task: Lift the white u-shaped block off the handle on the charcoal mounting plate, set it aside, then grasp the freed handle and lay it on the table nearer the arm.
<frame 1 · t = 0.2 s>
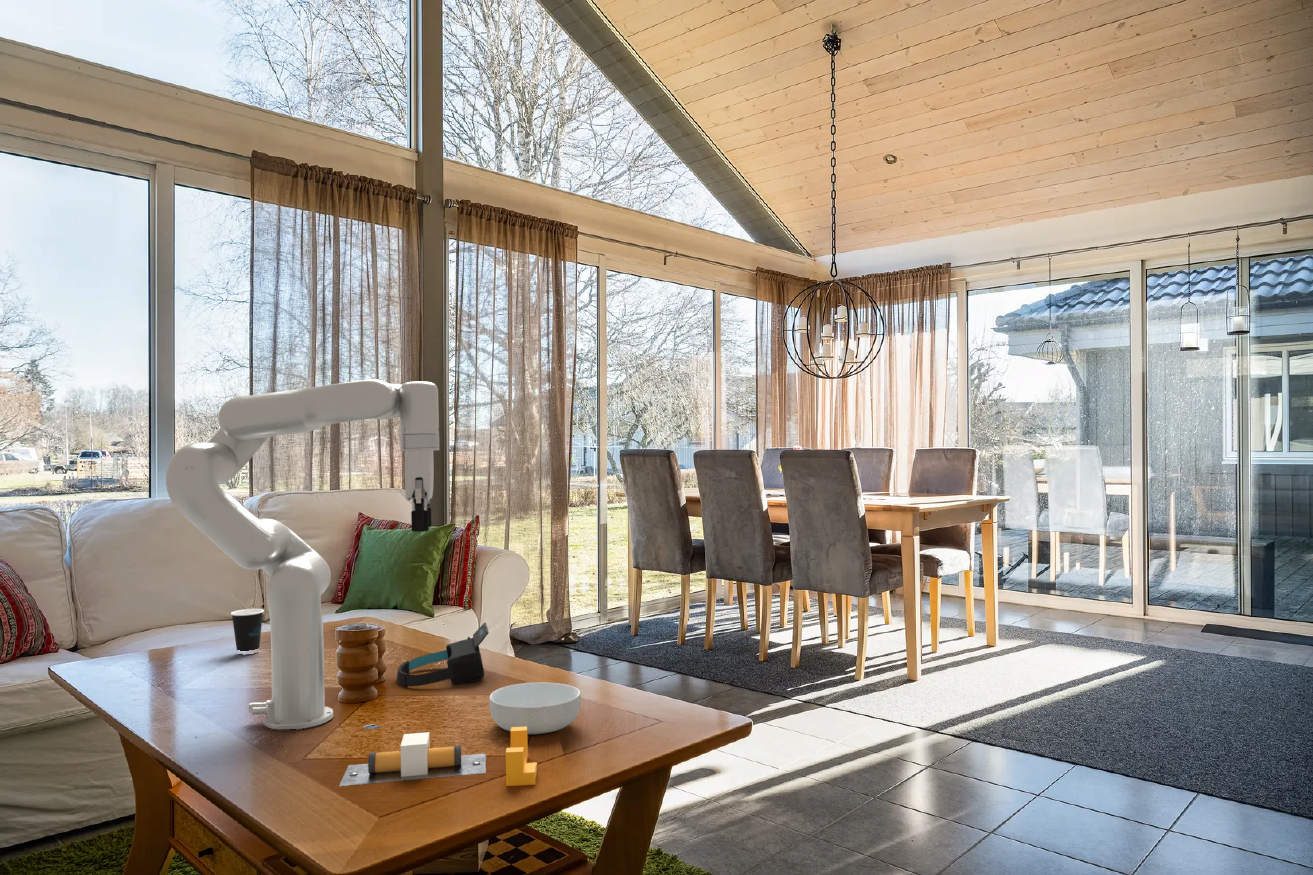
hand: (421, 529, 176), 37 cm above the table, tool pointing down, fingers open, 9 cm apart
mounting plate: (416, 776, 141), on the table
wristwatch: (391, 740, 160), on the table
cereal bowl: (536, 732, 162), on the table
handle: (415, 769, 141), point 1 cm above the table, touching mounting plate
dixie cup: (248, 654, 232), on the table
virtual reality headset: (443, 679, 203), on the table
white u-shaped block: (415, 769, 141), point 1 cm above the table, touching mounting plate
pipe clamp: (523, 780, 139), on the table
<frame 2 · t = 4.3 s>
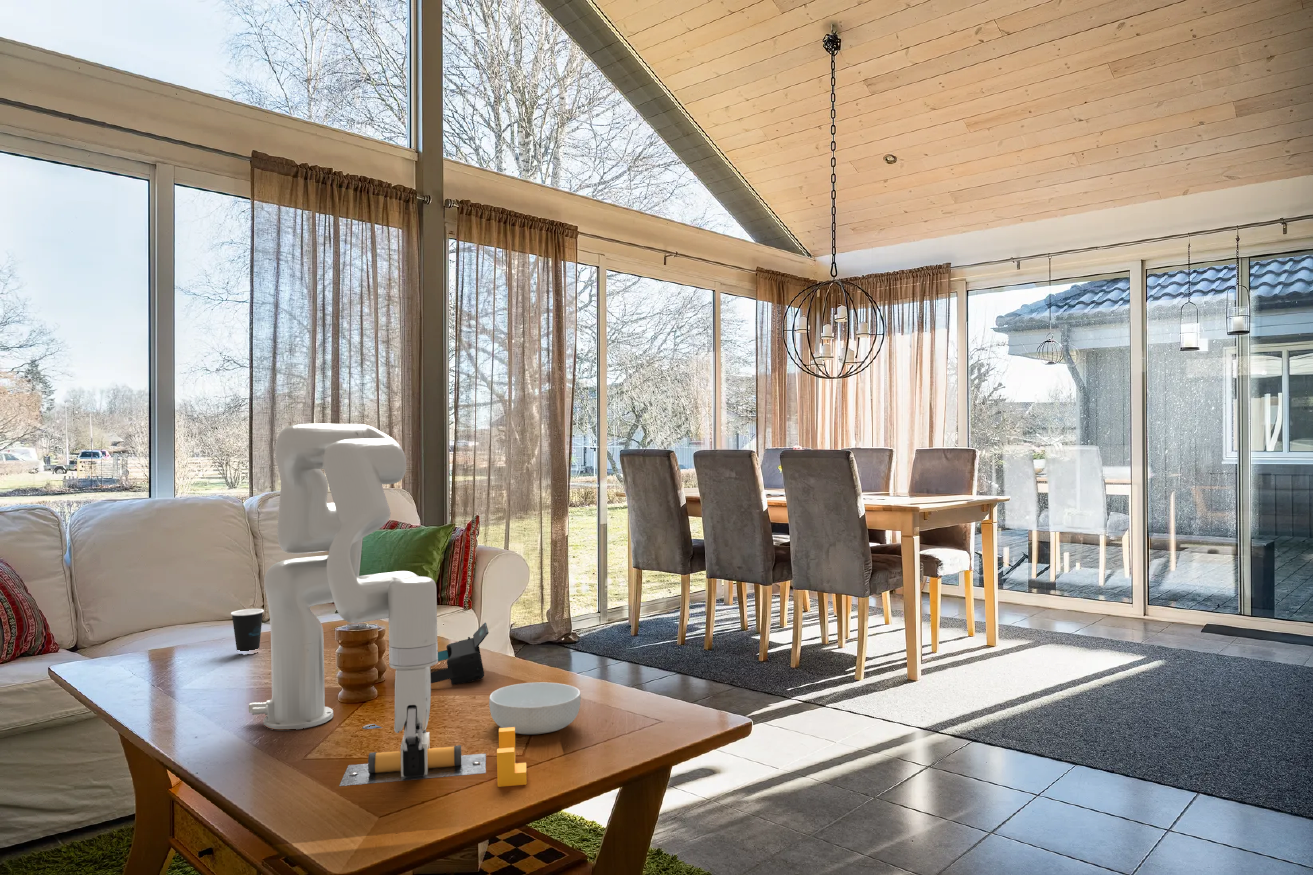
hand: (415, 766, 141), 2 cm above the table, tool pointing down, fingers closed on white u-shaped block, 5 cm apart
white u-shaped block: (415, 769, 141), point 1 cm above the table, touching gripper, mounting plate
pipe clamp: (512, 781, 139), on the table
everything else where it was.
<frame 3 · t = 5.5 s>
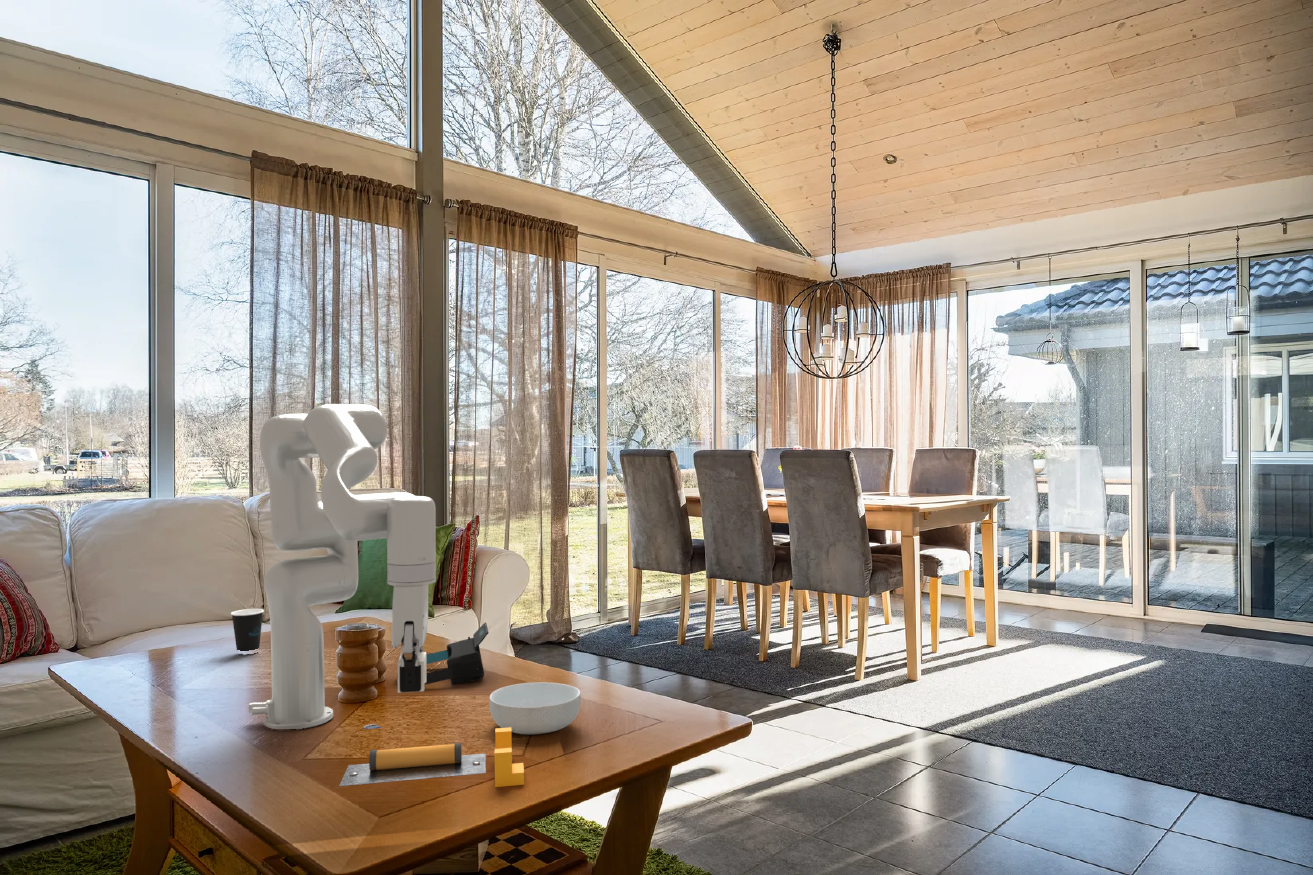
hand: (412, 684, 141), 15 cm above the table, tool pointing down, fingers closed on white u-shaped block, 5 cm apart
handle: (415, 765, 141), point 2 cm above the table, tilted 48°, touching mounting plate
white u-shaped block: (412, 686, 141), point 14 cm above the table, touching gripper
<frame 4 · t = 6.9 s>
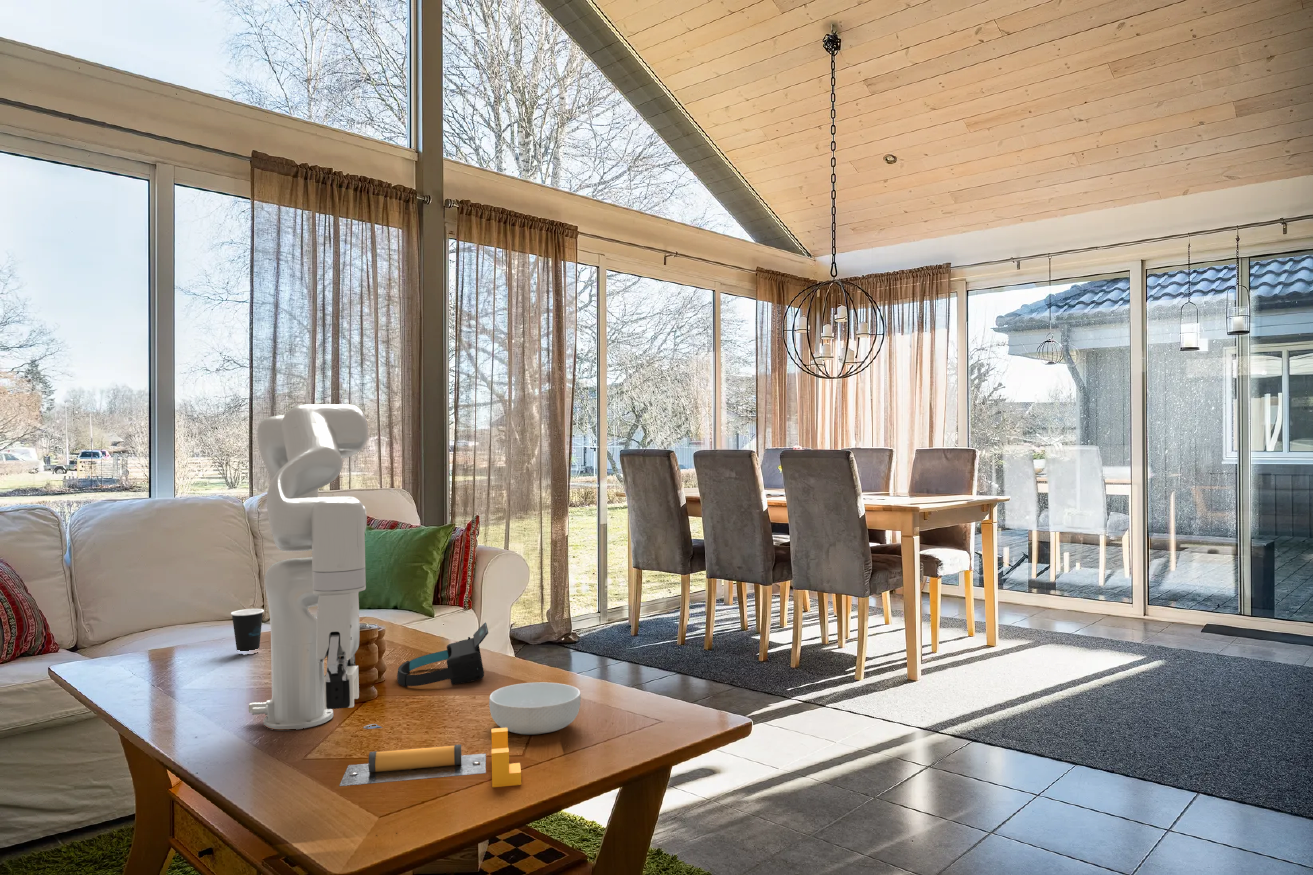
hand: (341, 700, 132), 15 cm above the table, tool pointing down, fingers closed on white u-shaped block, 5 cm apart
handle: (415, 768, 141), point 1 cm above the table, tilted 17°, touching mounting plate
white u-shaped block: (342, 703, 132), point 15 cm above the table, touching gripper
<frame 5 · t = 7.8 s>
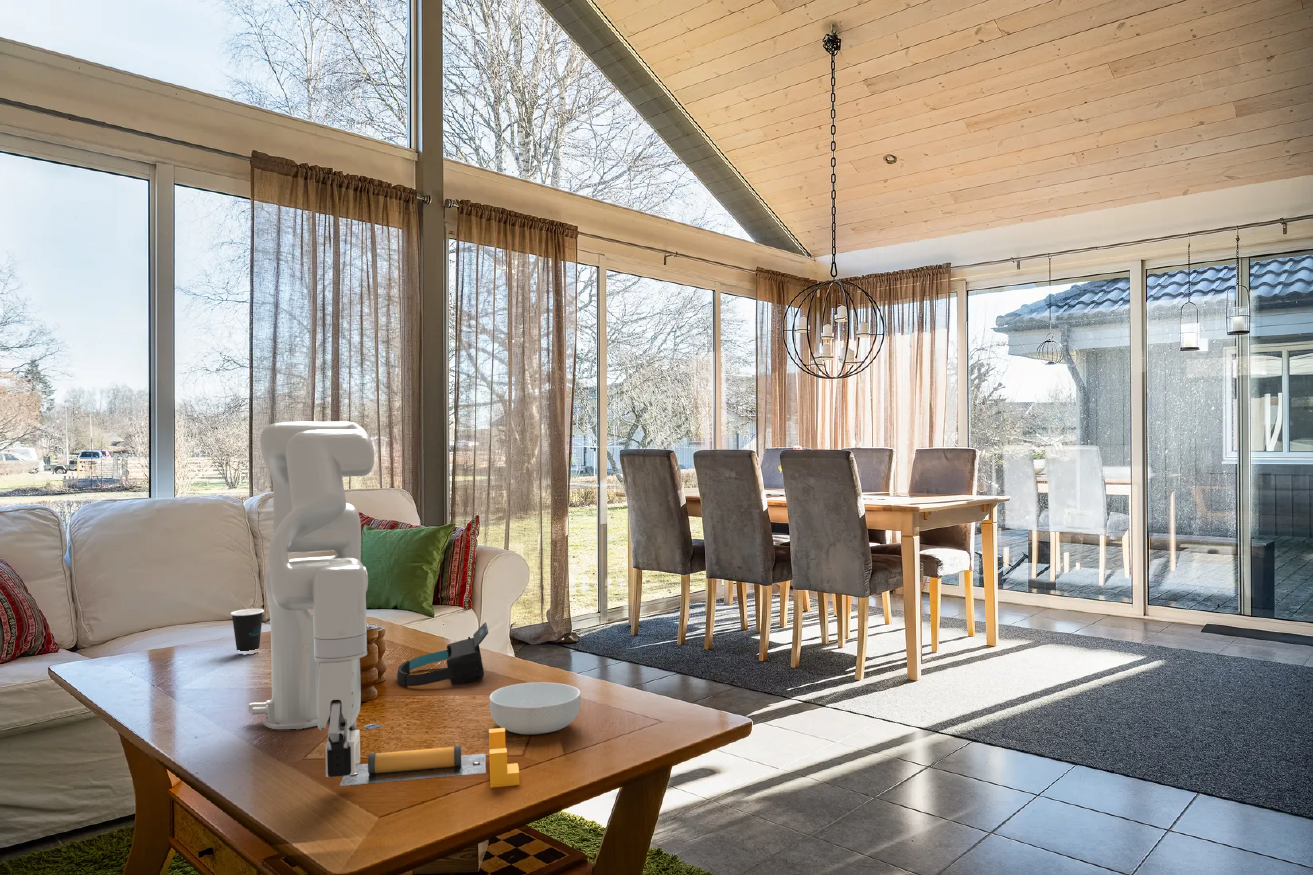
hand: (343, 766, 132), 5 cm above the table, tool pointing down, fingers closed on white u-shaped block, 5 cm apart
handle: (415, 769, 141), point 1 cm above the table, tilted 6°, touching mounting plate
white u-shaped block: (343, 769, 132), point 5 cm above the table, touching gripper
when the fingers open (2 cm above the table, at t = 8.6 s): white u-shaped block stays where it is, resting on mounting plate.
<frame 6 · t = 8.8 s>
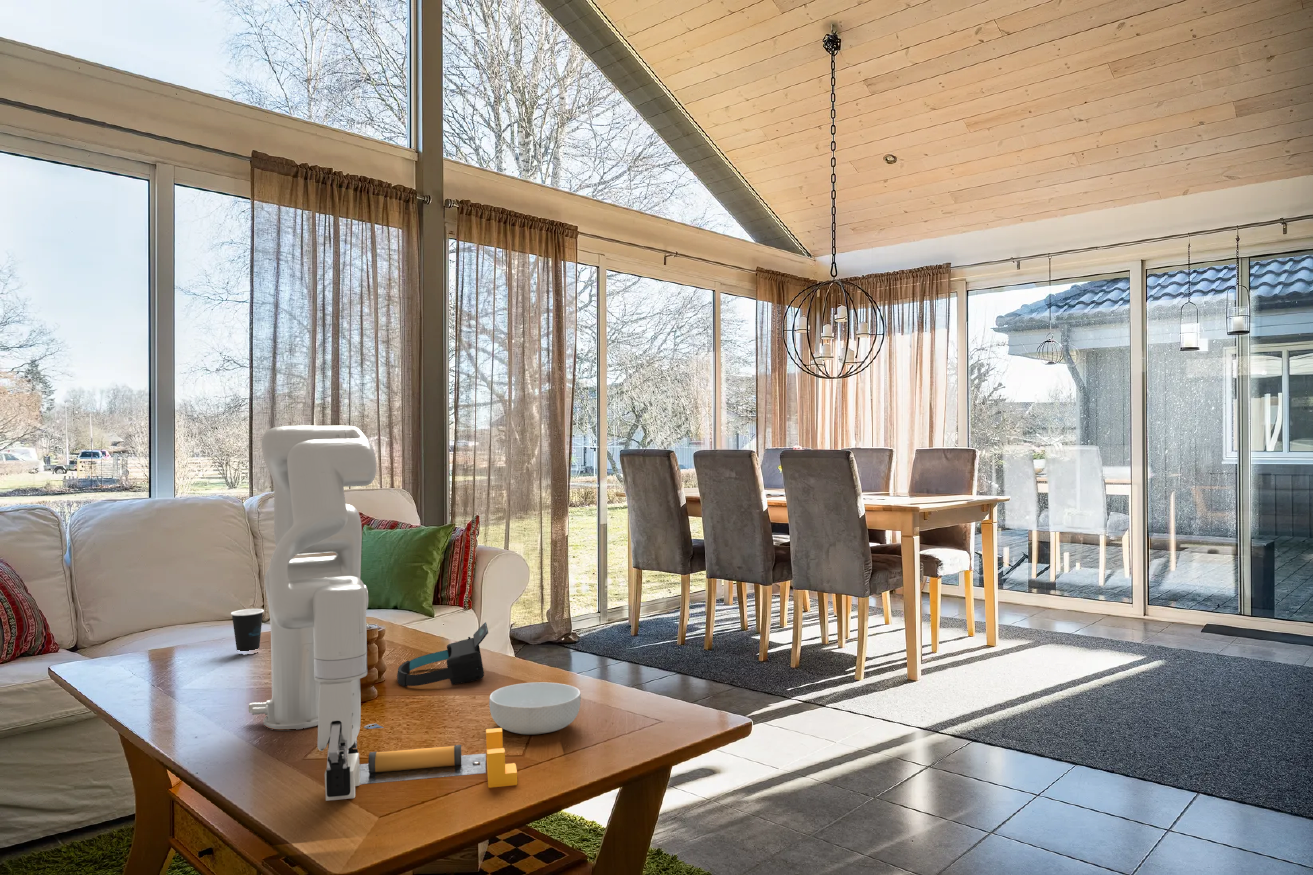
hand: (343, 784, 132), 2 cm above the table, tool pointing down, fingers open, 7 cm apart
handle: (415, 768, 141), point 1 cm above the table, tilted 11°, touching mounting plate
white u-shaped block: (343, 793, 132), point 1 cm above the table, tilted 7°, touching gripper, mounting plate
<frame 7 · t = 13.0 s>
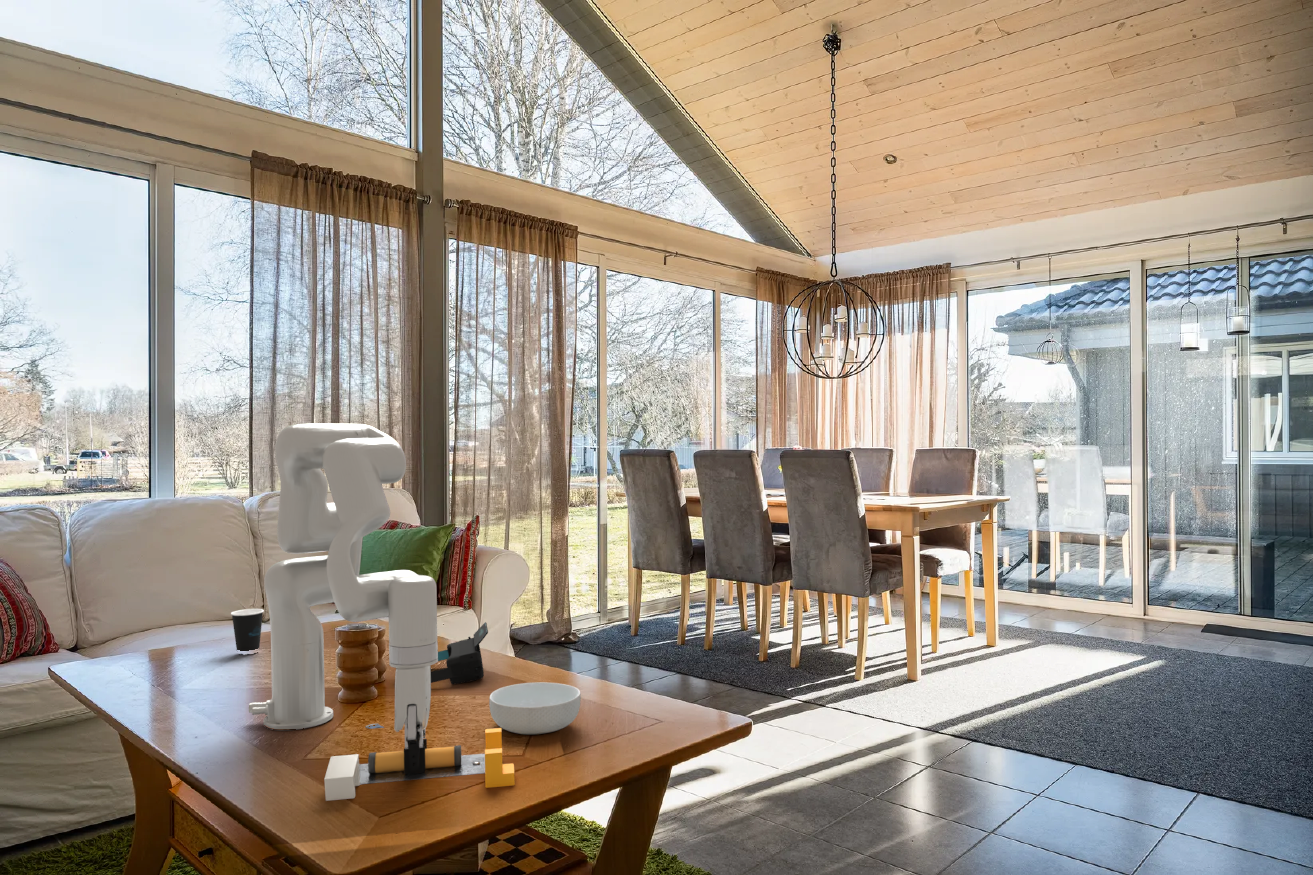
hand: (415, 767, 141), 1 cm above the table, tool pointing down, fingers closed on handle, 3 cm apart
handle: (415, 769, 141), point 1 cm above the table, touching gripper, mounting plate
white u-shaped block: (343, 794, 132), point 1 cm above the table, tilted 13°, touching mounting plate
when the fingers open (2 cm above the table, at t = 16.9 s): handle drops 2 cm, on the table.
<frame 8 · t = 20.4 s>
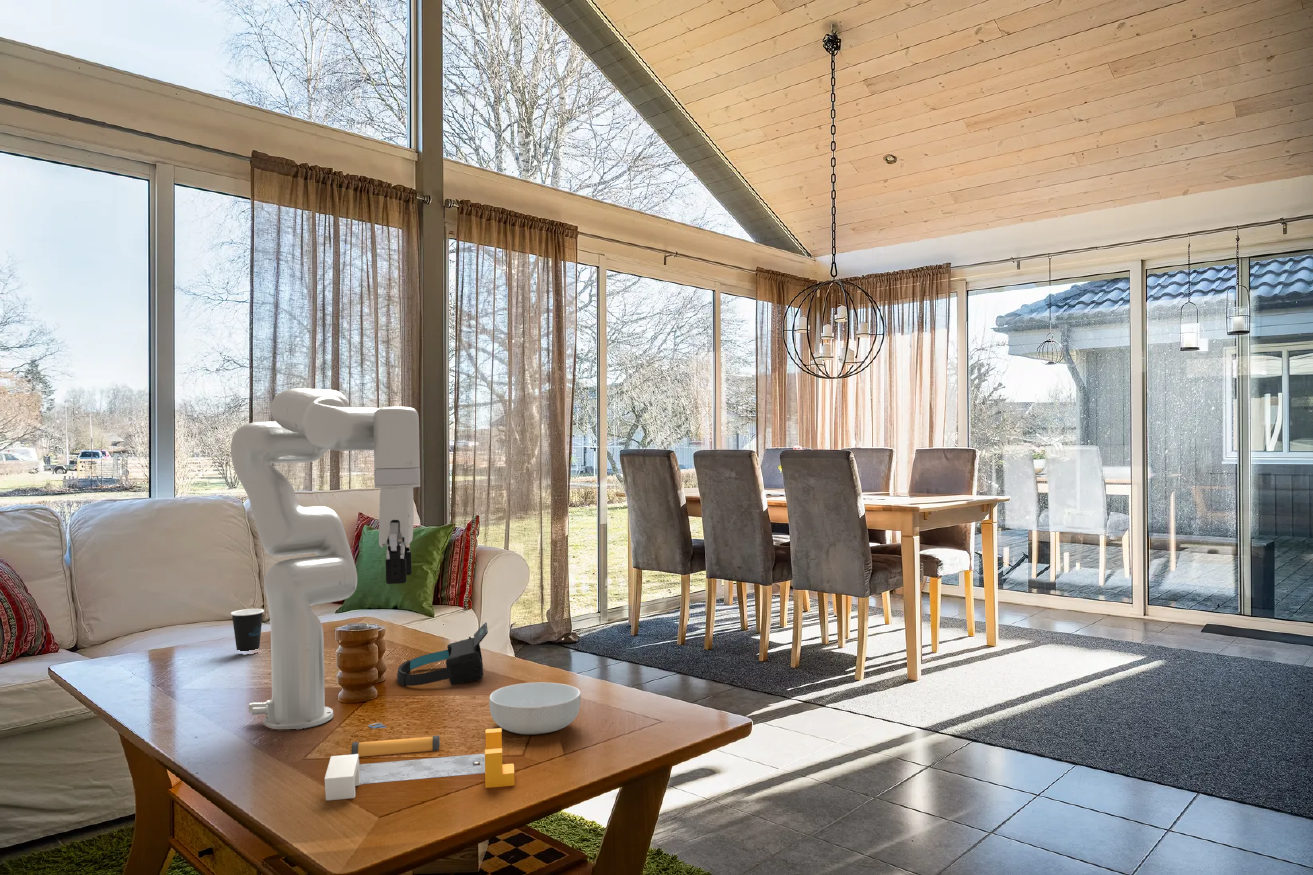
hand: (399, 579, 150), 30 cm above the table, tool pointing down, fingers open, 9 cm apart
handle: (396, 757, 150), on the table
at the end: white u-shaped block moved 12.0 cm from its start; handle inside the target area (0.5 cm from its centre), on the table; the gripper is holding nothing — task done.
